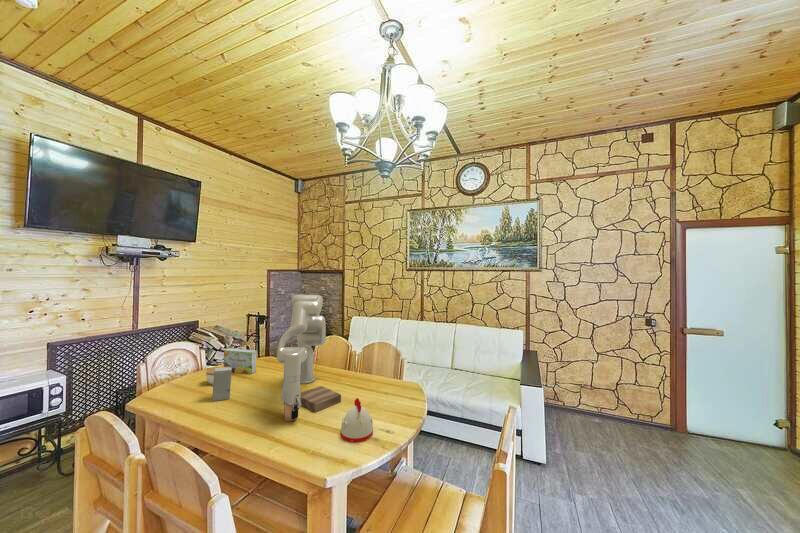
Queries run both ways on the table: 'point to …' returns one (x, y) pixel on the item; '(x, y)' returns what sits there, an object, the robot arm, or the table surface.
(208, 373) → the lidded jar
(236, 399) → the table surface
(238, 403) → the table surface
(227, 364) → the snack box
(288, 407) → the terracotta cylinder
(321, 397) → the walnut platform
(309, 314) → the robot arm
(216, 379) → the skincare box
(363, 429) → the kitchen timer
